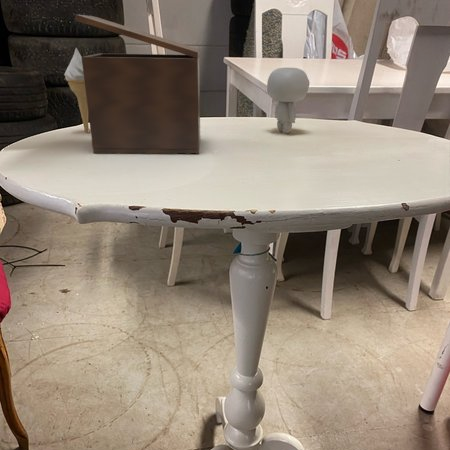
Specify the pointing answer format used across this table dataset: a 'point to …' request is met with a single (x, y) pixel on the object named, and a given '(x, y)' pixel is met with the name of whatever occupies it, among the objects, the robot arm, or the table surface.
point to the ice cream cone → (78, 85)
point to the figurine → (287, 94)
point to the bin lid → (138, 35)
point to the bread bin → (143, 103)
